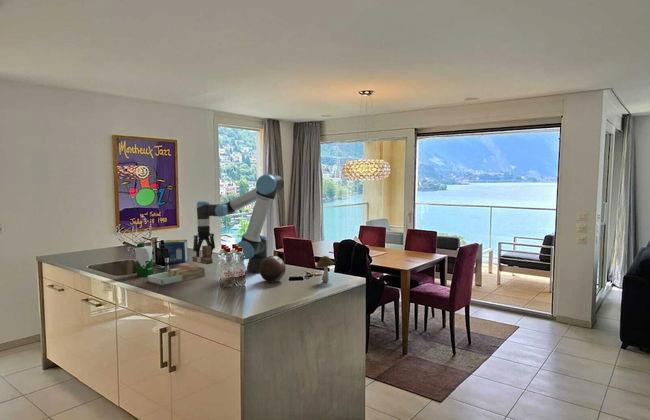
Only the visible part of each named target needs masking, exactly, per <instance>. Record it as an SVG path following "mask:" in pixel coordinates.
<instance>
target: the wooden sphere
mask: <svg viewBox="0 0 650 420" xmlns="http://www.w3.org/2000/svg"><path fill="white" fill-rule="evenodd" d="M286 268H287V267H286V263H285V262H284V260H283V259H282V258H280V257H279V256H277V255H269V256H267V257H266V258H265V259H264V260H263V261H262V262H261V264H260V267H259V271H260V272H259V275H260V276H261V277H262V279H263V280H265V282H268V283H275V282H279V281H280V280H282V278H283V277H284V276H285V274H286Z"/></svg>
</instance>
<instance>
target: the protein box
mask: <svg viewBox="0 0 650 420" xmlns="http://www.w3.org/2000/svg"><path fill="white" fill-rule="evenodd" d="M163 242H164V245H165V248H167V249H168V252H169V263H168V264H183V263H187V262H188V260H189V254H188V251H189V250H188V239H172V240H171V239H167V240H164V241H163Z"/></svg>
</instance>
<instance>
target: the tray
mask: <svg viewBox="0 0 650 420" xmlns="http://www.w3.org/2000/svg"><path fill="white" fill-rule="evenodd" d="M147 282H148V283H152V284H155V285H158V286H162V287H163V286H166V285H172V284H176V283H180V282H184V281H183V280H182V275H179V276H174V277H169V271H165V272H160V273H155V274H154V273H153V274H152V275H148V276H147Z"/></svg>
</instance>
